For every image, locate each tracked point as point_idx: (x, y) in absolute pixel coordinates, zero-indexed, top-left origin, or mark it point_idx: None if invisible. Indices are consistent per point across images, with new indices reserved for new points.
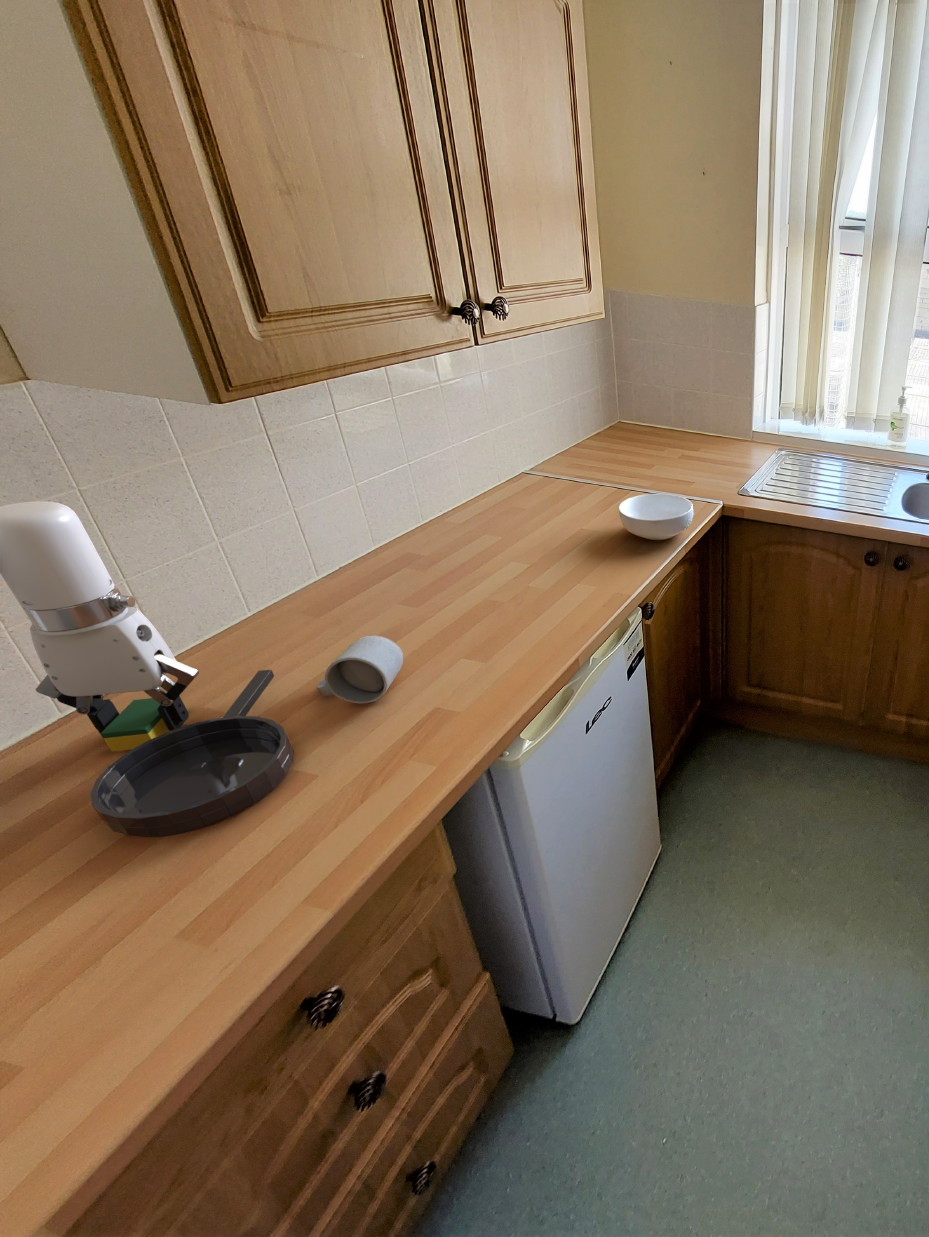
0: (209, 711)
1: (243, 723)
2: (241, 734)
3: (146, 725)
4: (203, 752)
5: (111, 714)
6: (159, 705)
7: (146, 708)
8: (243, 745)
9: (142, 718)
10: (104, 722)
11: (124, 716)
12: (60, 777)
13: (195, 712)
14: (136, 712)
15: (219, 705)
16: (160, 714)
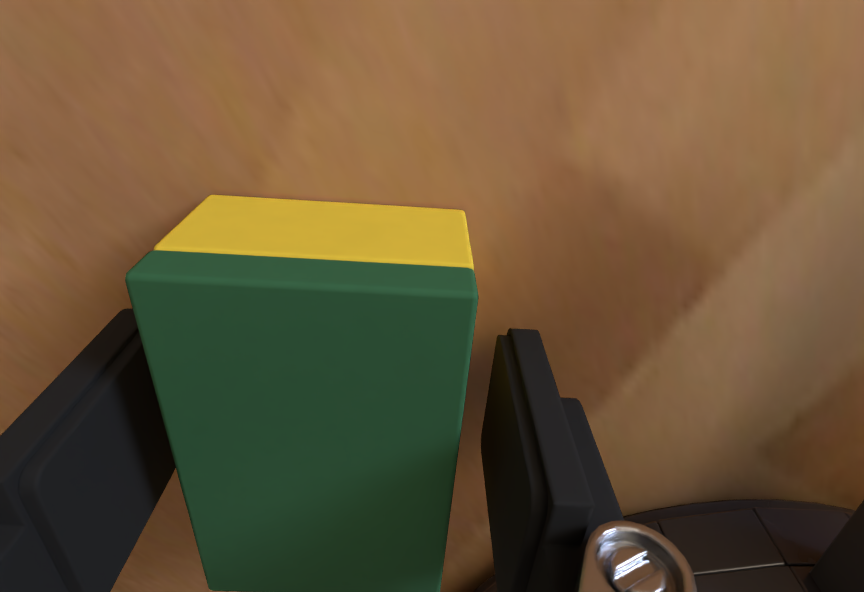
0: (615, 222)
1: None
2: None
3: (430, 578)
4: None
5: (118, 455)
6: (409, 409)
7: (330, 429)
8: None
9: (369, 521)
10: (140, 506)
11: (230, 480)
12: (162, 558)
13: (528, 211)
14: (283, 454)
15: (670, 157)
16: (496, 566)
